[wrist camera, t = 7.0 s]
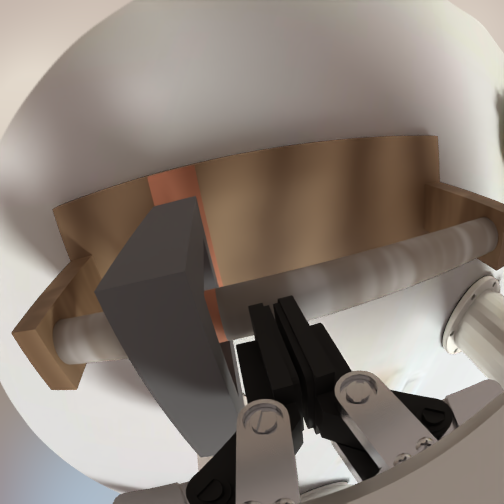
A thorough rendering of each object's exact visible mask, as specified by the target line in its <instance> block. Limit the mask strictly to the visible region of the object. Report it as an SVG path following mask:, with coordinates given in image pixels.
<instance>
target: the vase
mask: <svg viewBox="0 0 504 504" xmlns="http://www.w3.org/2000/svg"><path fill="white" fill-rule="evenodd" d="M350 486H353V485H349V484H347V482H336V483H332V484H328V485H325V486H322V487H319V488H316V489H313V490H311V491H308V492H306V493H304V494H302V495H300V499H301V503H302V502H305V501H309V500H312V499H316V498H319V497H322V496H325V495H328V494H331V493H334V492H337V491H340V490H342V489H345V488H348V487H350Z"/></svg>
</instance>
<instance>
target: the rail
mask: <svg viewBox="0 0 504 504" xmlns="http://www.w3.org/2000/svg"><path fill="white" fill-rule="evenodd" d="M193 196H196V198H197V202H198V207H199V211H200V215H201V219H202V223H203V227H204V231H205V235H206V239H207V243H208V247H209V251H210V255H211V259H212V263H213V267H214V270H215V274H216V278H217V282H218V285H219V288H214V289H210V290H205V291H204V297H205V300H206V304H207V307H208V310H209V313H210V316H211V319H212V322H213V325H214V328H215V331H216V334H217V337H218V340H219V343H221V342H225V341H230V340H235V339H239V338H243V337H248V336H252V335H254V332H253V327H252V323H251V318H250V314H249V309H248V306H250V305H254V304H259V303H263V306H267V305H269V306H270V309H271V311H272V314H273V316H274V319H275V315H274V309H273V304H275V303H278V299H279V298H283V297H287V296H291V295H292V296H293V297H294V299H295V301H296V302H297V304H298V306H299V308H300V310H301V311H302V313H303V315H304V317H305V318H306V320H307V321H309V320H312V319H316V318H319V317H323V316H326V315H329V314H332V313H336V312H339V311H342V310H345V309H348V308H351V307H354V306H357V305H360V304H363V303H366V302H369V301H372V300H375V299H378V298H381V297H384V296H386V295H389V294H392V293H395V292H397V291H400V290H403V289H405V288H408V287H411V286H413V285H416V284H418V283H421V282H423V281H426V280H428V279H431V278H433V277H436V276H438V275H440V274H443V273H445V272H447V271H450V270H452V269H454V268H457V267H459V266H461V265H463V264H466V263H468V262H470V261H472V260H474V259H476V258H477V259H479V260H480V261H482V262H483V263H485V264H487V265H488V266H490V267H492V268H493V269H495V270H496V271H497V270H498V269H500V268H502V267H503V266H504V204H503V203H500V202H498V201H495V200H492V199H490V198H487V197H484V196H482V195H479V194H476V193H473V192H470V191H467V190H464V189H461V188H458V187H455V186H452V185H448V184H445V183H442V182H440V177H439V150H438V136H383V137H365V138H352V139H340V140H330V141H321V142H312V143H304V144H297V145H289V146H283V147H276V148H270V149H264V150H258V151H252V152H247V153H241V154H236V155H231V156H226V157H221V158H217V159H212V160H208V161H203V162H199V163H194V164H190V165H186V166H182V167H178V168H174V169H170V170H167V171H163V172H159V173H156V174H152V175H148V176H145V177H142V178H138V179H135V180H131V181H128V182H125V183H122V184H119V185H116V186H112V187H109V188H106V189H103V190H100V191H98V192H95V193H92V194H89V195H86V196H83V197H81V198H78V199H75V200H73V201H70V202H67V203H65V204H62V205H60V206H58V207H56V208H54V209H53V212H54V216H55V219H56V222H57V225H58V228H59V231H60V234H61V237H62V239H63V242H64V245H65V248H66V250H67V253H68V256H69V258H70V261H71V262H70V263H69V264H68V265H67V266H66V267H65V268H64V269H63V270H62V271H61V272H60V273H59V275H58V276H57V277H56V278H55V279H54V280H53V281H52V282H51V284H50V285H49V286H48V287H47V288H46V289H45V291H44V292H43V293H42V294H41V295H40V297H39V298H38V299H37V300H36V301H35V303H34V304H33V305H32V306H31V308H30V309H29V310H28V311H27V313H26V314H25V315H24V316H23V318H22V319H21V320H20V322H19V323H18V324H17V326H16V327H15V328H14V330H13V331H12V335H13V337H14V338H15V340H16V341H17V343H18V345H19V346H20V348H21V349H22V351H23V352H24V354H25V355H26V357H27V358H28V359H29V361H30V362H31V364H32V365H33V367H34V368H35V369H36V371H37V372H38V373H39V375H40V376H41V377H42V379H43V380H44V381H45V382H46V384H47V385H48V386H49V387H50V389H51V390H77V388H78V385H79V382H80V380H81V377H82V374H83V371H84V369H85V366H86V364H87V363H94V362H104V361H112V360H121V359H128V356H127V354H126V353H125V351H124V349H123V348H122V346H121V344H120V342H119V340H118V339H117V337H116V335H115V333H114V331H113V329H112V327H111V325H110V324H109V322H108V320H107V318H106V316H105V314H104V312H103V310H102V308H101V306H100V303H99V301H98V299H97V297H96V295H95V293H94V291H95V289H96V288H97V286H98V285H99V283H100V281H101V280H102V278H103V277H104V275H105V274H106V272H107V271H108V269H109V267H110V266H111V264H112V263H113V261H114V260H115V259H116V257H117V256H118V254H119V253H120V251H121V250H122V248H123V247H124V245H125V244H126V243H127V241H128V240H129V238H130V237H131V236H132V234H133V233H134V231H135V230H136V229H137V227H138V226H139V225H140V223H141V222H142V221H143V219H144V218H145V217H146V215H147V214H148V213H149V211H150V210H151V209H152V208H153V207H154V206H157V205H161V204H165V203H169V202H173V201H177V200H181V199H185V198H189V197H193Z"/></svg>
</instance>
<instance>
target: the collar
mask: <svg viewBox="0 0 504 504" xmlns="http://www.w3.org/2000/svg"><path fill="white" fill-rule="evenodd" d="M214 288H219V285H218V282H217V278H216V274H215V270H214V267H213V263H212V259H211V255H210V251H209V247H208V243H207V239H206V235H205V231H204V227H203V223H202V219H201V215H200V211H199V207H198V202H197V198H196V196H193V197H189V198H185V199H181V200H177V201H173V202H169V203H165V204H161V205H157V206H154V207H153V208H152V209H151V210H150V211H149V213H148V214H147V215H146V217H145V218H144V219H143V221H142V222H141V223H140V225H139V226H138V227H137V229H136V230H135V231H134V233H133V234H132V236H131V237H130V238H129V240H128V241H127V243H126V244H125V245H124V247H123V248H122V250H121V251H120V253H119V254H118V256H117V257H116V259H115V260H114V261H113V263H112V264H111V266H110V267H109V269H108V271H107V272H106V274H105V275H104V277H103V278H102V280H101V281H100V283H99V285H98V286H97V288H96V289H95V291H94V293H95V295H96V297H97V299H98V301H99V303H100V306H101V308H102V310H103V312H104V314H105V316H106V318H107V320H108V322H109V324H110V325H111V327H112V329H113V331H114V333H115V335H116V337H117V339H118V340H119V342H120V344H121V346H122V348H123V349H124V351H125V353H126V354H127V356H128V358H129V360H130V361H131V363H132V365H133V366H134V368H135V369H136V371H137V373H138V374H139V376H140V377H141V379H142V380H143V382H144V384H145V385H146V387H147V388H148V390H149V391H150V393H151V394H152V396H153V397H154V398H155V400H156V401H157V403H158V404H159V406H160V407H161V408H162V410H163V411H164V412H165V414H166V415H167V417H168V418H169V419H170V421H171V422H172V423H173V424H174V426H175V427H176V428H177V430H178V431H179V432H180V433H181V435H182V436H183V437H184V438H185V440H186V441H187V442H188V443H189V444H190V446H191V447H192V448H193V449H194V450H195V452H196V453H197V454H198V455H199V456H200V457H209V456H214V455H215V454H216V453H217V452H218V451H219V450H220V449H221V448H222V447H223V445H224V444H225V443H226V442H227V441H228V440H229V439H230V438H231V437H232V435H233V434H234V433H235V432H236V431H237V417H238V414H239V413H240V411H241V409H242V408H244V407H245V405H244V400H243V394H242V389H241V384H240V378H239V373H238V367H237V362H236V356H235V350H234V345H233V340H230V341H225V342H221V343H219V340H218V337H217V334H216V331H215V328H214V325H213V322H212V319H211V316H210V313H209V310H208V307H207V304H206V300H205V297H204V291H205V290H210V289H214Z"/></svg>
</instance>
